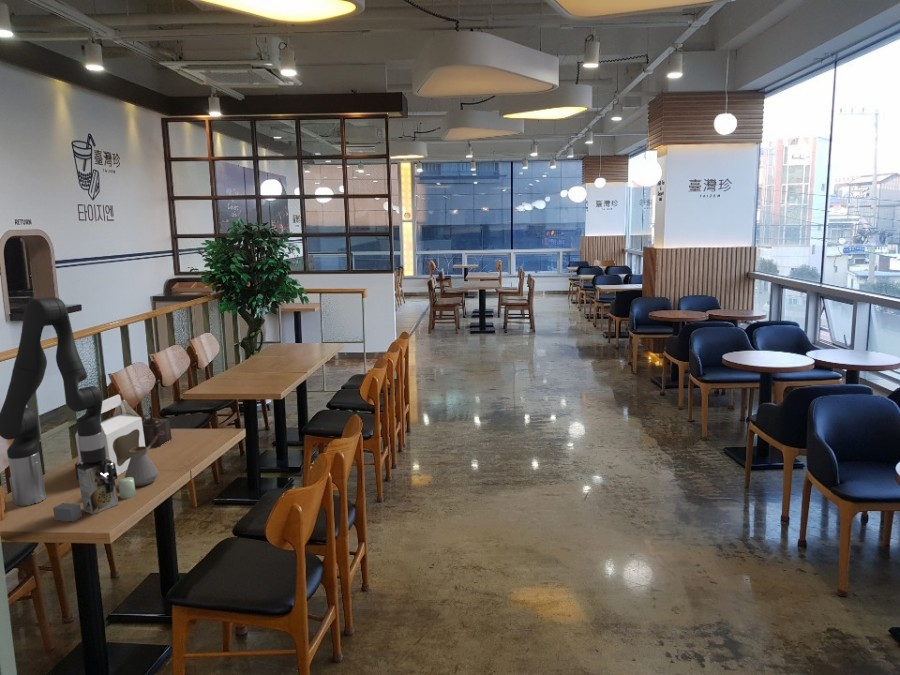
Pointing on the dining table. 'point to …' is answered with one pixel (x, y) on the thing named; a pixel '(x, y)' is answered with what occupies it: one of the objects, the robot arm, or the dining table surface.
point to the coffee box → (95, 488)
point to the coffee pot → (142, 465)
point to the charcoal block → (67, 512)
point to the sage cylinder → (126, 487)
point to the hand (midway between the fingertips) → (99, 492)
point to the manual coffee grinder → (155, 430)
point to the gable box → (120, 432)
